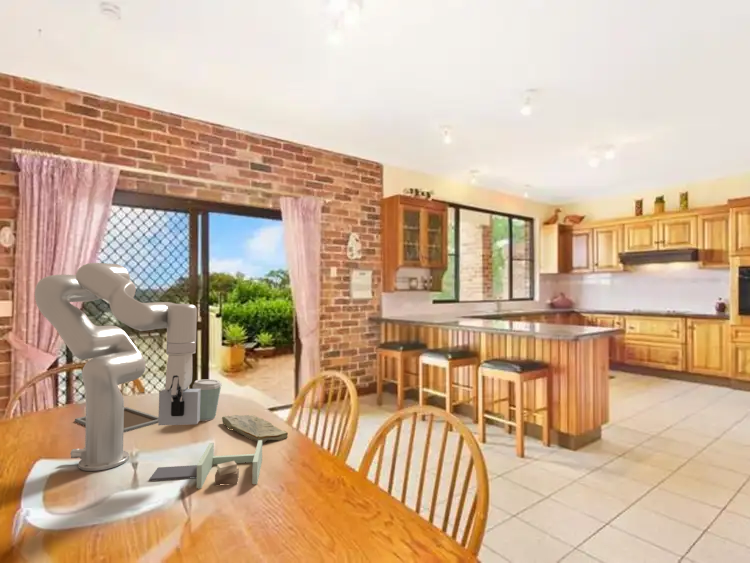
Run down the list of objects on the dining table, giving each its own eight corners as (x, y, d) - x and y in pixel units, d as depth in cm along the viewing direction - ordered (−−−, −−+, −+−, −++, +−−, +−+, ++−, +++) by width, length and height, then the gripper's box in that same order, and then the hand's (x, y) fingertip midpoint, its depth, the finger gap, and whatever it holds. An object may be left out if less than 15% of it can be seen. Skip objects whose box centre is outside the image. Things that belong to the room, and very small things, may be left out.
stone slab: (247, 410, 168) (290, 426, 147) (247, 421, 168) (290, 438, 147) (217, 416, 160) (258, 434, 139) (217, 427, 160) (258, 447, 138)
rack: (196, 488, 110) (196, 465, 110) (209, 463, 125) (209, 442, 125) (257, 484, 112) (257, 461, 112) (262, 459, 128) (262, 440, 128)
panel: (149, 480, 114) (149, 478, 114) (157, 469, 121) (158, 467, 121) (200, 477, 116) (200, 475, 116) (206, 466, 123) (206, 464, 123)
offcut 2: (214, 486, 111) (215, 475, 111) (216, 481, 115) (217, 469, 115) (237, 484, 112) (237, 473, 112) (238, 479, 116) (238, 468, 116)
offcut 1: (219, 475, 111) (220, 468, 111) (217, 471, 113) (217, 464, 113) (236, 471, 114) (236, 464, 114) (233, 468, 116) (233, 460, 116)
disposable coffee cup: (211, 412, 173) (211, 376, 174) (226, 417, 167) (227, 380, 167) (186, 419, 165) (187, 380, 165) (202, 425, 159) (202, 385, 159)
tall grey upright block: (158, 425, 116) (159, 392, 116) (162, 421, 119) (163, 389, 119) (196, 424, 118) (197, 391, 118) (199, 420, 121) (200, 388, 121)
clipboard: (111, 433, 146) (71, 417, 162) (111, 437, 146) (71, 421, 162) (164, 418, 162) (123, 405, 178) (164, 422, 162) (123, 409, 178)
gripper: (175, 343, 126) (173, 405, 126) (157, 353, 110) (155, 423, 110) (202, 343, 127) (200, 404, 127) (188, 352, 111) (186, 422, 111)
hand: (179, 412), depth 118 cm, fingers closed on tall grey upright block, 3 cm apart
